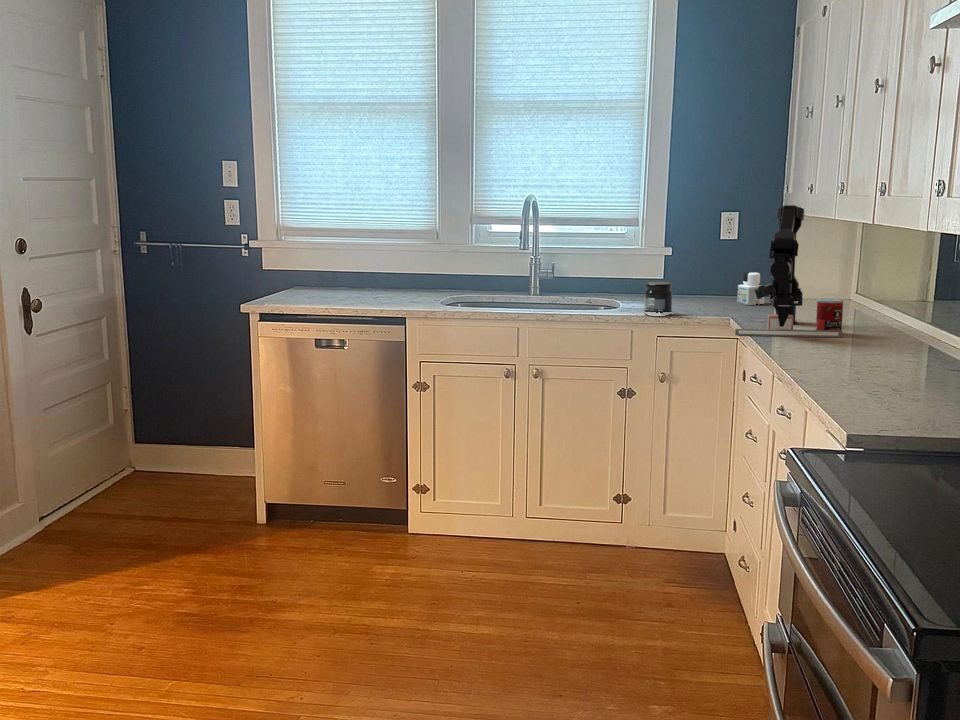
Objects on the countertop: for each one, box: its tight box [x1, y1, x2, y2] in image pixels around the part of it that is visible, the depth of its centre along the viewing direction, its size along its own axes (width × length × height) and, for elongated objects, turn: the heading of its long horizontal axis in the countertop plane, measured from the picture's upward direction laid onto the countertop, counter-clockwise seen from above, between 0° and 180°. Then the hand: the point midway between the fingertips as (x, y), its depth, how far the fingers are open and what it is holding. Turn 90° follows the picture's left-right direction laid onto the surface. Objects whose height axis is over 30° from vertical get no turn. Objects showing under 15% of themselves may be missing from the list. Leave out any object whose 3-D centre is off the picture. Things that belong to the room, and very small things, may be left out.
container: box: [737, 271, 765, 305], centre depth 359 cm, size 8×8×13 cm
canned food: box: [815, 297, 844, 332], centre depth 284 cm, size 8×8×11 cm
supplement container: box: [643, 281, 674, 313], centre depth 334 cm, size 10×10×12 cm
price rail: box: [734, 328, 843, 338], centre depth 282 cm, size 1×32×2 cm, turn 76°
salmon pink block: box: [766, 314, 794, 330], centre depth 286 cm, size 5×8×6 cm
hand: (780, 324), depth 286 cm, fingers open, 9 cm apart
